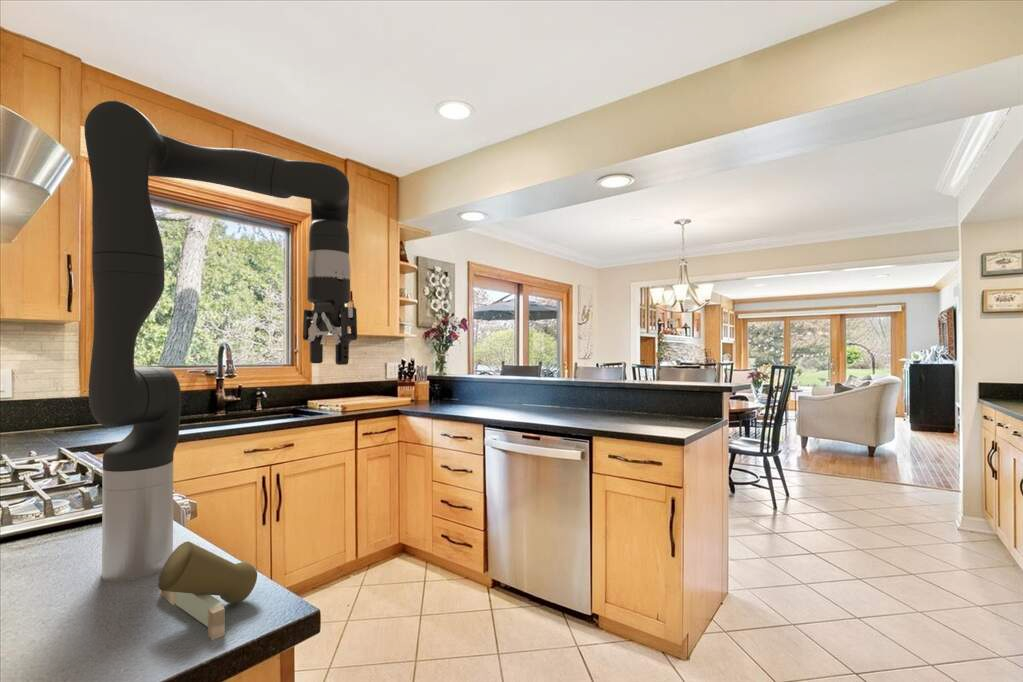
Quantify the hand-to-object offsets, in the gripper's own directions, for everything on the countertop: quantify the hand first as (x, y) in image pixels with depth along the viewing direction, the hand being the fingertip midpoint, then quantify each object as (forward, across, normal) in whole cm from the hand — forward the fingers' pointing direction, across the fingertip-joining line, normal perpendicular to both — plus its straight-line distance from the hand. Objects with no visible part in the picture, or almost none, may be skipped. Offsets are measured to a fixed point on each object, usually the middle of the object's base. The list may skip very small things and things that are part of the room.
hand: (328, 363), depth 90 cm
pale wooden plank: (+33, +3, -25) cm, 42 cm away
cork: (+25, +9, -28) cm, 38 cm away
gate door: (+33, +3, -25) cm, 42 cm away
